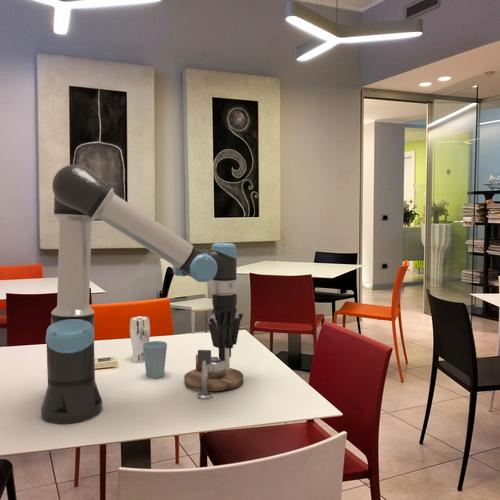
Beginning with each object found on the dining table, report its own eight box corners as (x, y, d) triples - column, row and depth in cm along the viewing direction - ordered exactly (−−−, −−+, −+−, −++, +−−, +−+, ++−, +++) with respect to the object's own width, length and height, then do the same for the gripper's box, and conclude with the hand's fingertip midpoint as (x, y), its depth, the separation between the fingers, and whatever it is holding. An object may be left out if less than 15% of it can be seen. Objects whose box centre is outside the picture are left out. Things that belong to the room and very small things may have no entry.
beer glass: (152, 361, 181) (151, 319, 180) (132, 363, 179) (131, 320, 178) (148, 356, 188) (147, 315, 187) (129, 358, 185) (128, 317, 184)
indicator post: (210, 399, 144) (210, 352, 143) (195, 399, 144) (194, 352, 143) (214, 394, 148) (213, 348, 147) (199, 393, 149) (198, 348, 148)
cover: (211, 380, 153) (211, 362, 153) (198, 375, 158) (198, 357, 158) (230, 375, 158) (230, 358, 157) (216, 370, 163) (216, 353, 163)
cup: (170, 377, 163) (169, 345, 163) (146, 380, 160) (145, 347, 160) (164, 371, 170) (163, 339, 170) (141, 374, 167) (140, 342, 167)
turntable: (207, 395, 145) (206, 373, 145) (172, 379, 159) (172, 359, 159) (255, 381, 157) (255, 361, 157) (219, 368, 171) (219, 349, 170)
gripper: (214, 297, 152) (215, 375, 154) (248, 292, 160) (248, 367, 162) (200, 294, 158) (200, 369, 159) (233, 289, 166) (233, 361, 168)
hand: (225, 368), depth 161 cm, fingers closed
